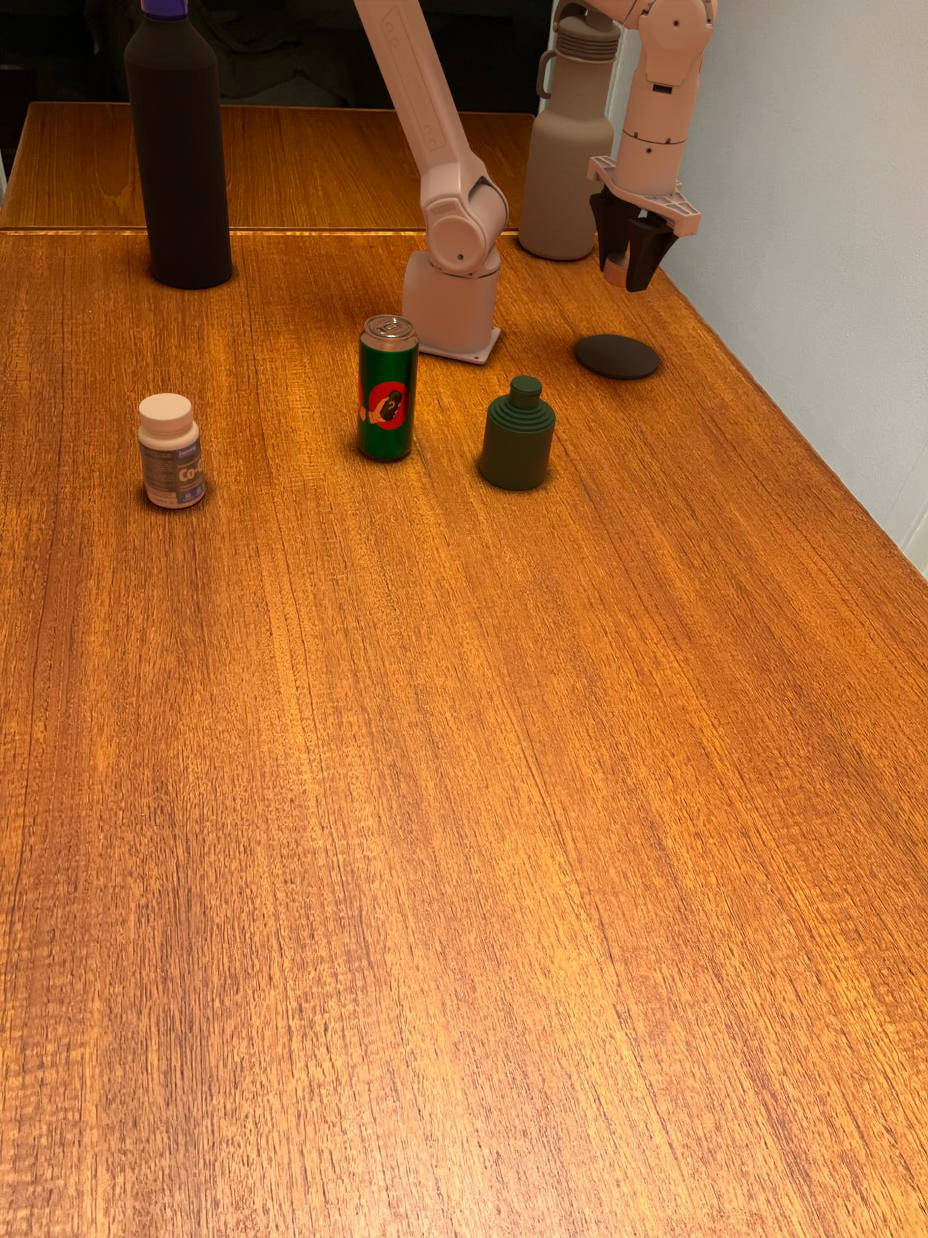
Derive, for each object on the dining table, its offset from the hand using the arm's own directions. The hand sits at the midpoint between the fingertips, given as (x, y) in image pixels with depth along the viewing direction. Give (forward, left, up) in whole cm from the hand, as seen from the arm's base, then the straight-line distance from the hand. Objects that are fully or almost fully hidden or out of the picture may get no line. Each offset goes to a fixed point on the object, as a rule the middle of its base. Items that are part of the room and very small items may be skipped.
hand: (623, 280), depth 95 cm
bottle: (-48, +3, -10) cm, 49 cm away
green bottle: (-5, -21, -10) cm, 24 cm away
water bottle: (-11, +30, -10) cm, 34 cm away
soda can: (-17, -22, -10) cm, 30 cm away
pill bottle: (-31, -35, -10) cm, 48 cm away
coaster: (+1, +4, -10) cm, 11 cm away
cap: (0, 0, +2) cm, 2 cm away
